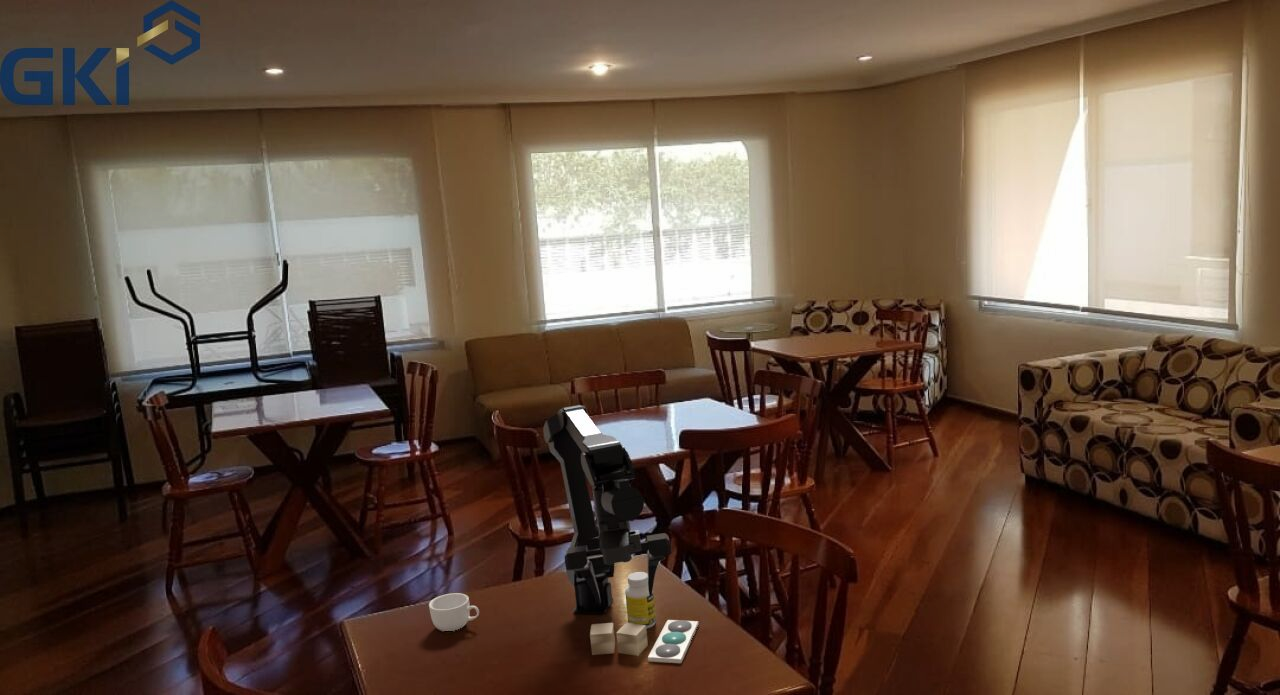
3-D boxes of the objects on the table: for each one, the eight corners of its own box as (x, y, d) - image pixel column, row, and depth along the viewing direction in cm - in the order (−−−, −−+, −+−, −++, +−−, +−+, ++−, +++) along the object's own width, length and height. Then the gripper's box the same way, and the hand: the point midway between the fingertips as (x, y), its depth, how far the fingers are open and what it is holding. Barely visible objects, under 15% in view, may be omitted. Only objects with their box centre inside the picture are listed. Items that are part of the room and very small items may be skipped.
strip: (648, 661, 160) (647, 656, 159) (668, 623, 173) (667, 618, 173) (681, 663, 158) (680, 658, 158) (698, 625, 171) (698, 620, 171)
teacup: (425, 635, 177) (422, 610, 176) (442, 617, 185) (438, 592, 184) (473, 636, 175) (469, 610, 174) (488, 618, 182) (484, 593, 181)
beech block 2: (618, 653, 164) (616, 632, 163) (628, 642, 167) (626, 622, 167) (638, 656, 162) (636, 635, 161) (647, 645, 165) (645, 625, 165)
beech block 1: (592, 655, 164) (590, 634, 163) (593, 644, 168) (591, 624, 167) (614, 653, 164) (612, 633, 163) (615, 642, 168) (613, 622, 167)
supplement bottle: (653, 630, 171) (648, 582, 169) (625, 630, 172) (620, 582, 170) (658, 617, 176) (654, 569, 174) (631, 617, 177) (626, 570, 175)
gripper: (556, 530, 152) (570, 621, 153) (666, 513, 153) (679, 604, 153) (561, 517, 164) (573, 602, 164) (663, 501, 164) (675, 586, 164)
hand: (625, 599), depth 161 cm, fingers open, 9 cm apart
